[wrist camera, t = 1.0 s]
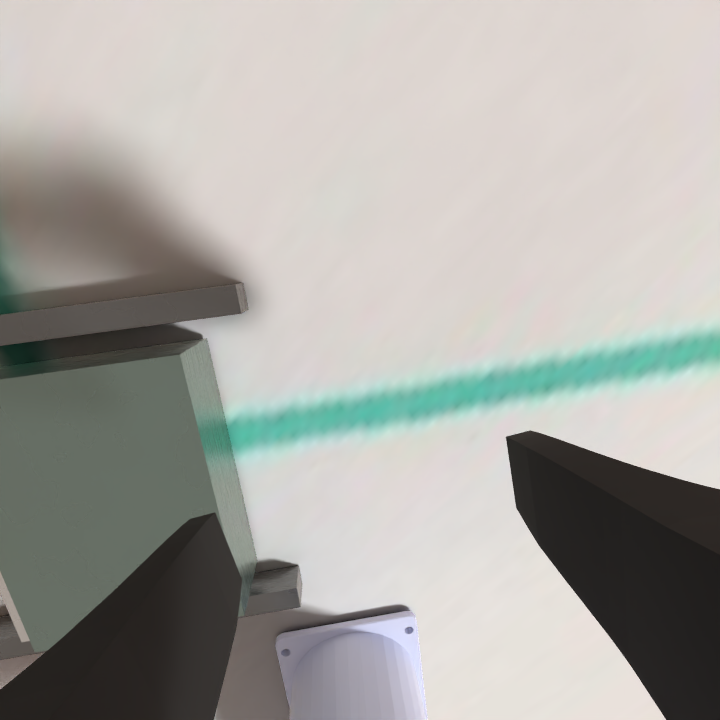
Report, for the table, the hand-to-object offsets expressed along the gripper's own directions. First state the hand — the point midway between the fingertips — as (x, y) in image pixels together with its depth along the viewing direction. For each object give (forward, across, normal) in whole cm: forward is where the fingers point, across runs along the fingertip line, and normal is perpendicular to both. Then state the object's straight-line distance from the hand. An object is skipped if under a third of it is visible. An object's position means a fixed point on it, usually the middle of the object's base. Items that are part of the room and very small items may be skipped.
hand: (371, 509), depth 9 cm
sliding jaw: (+10, +11, +2) cm, 15 cm away
